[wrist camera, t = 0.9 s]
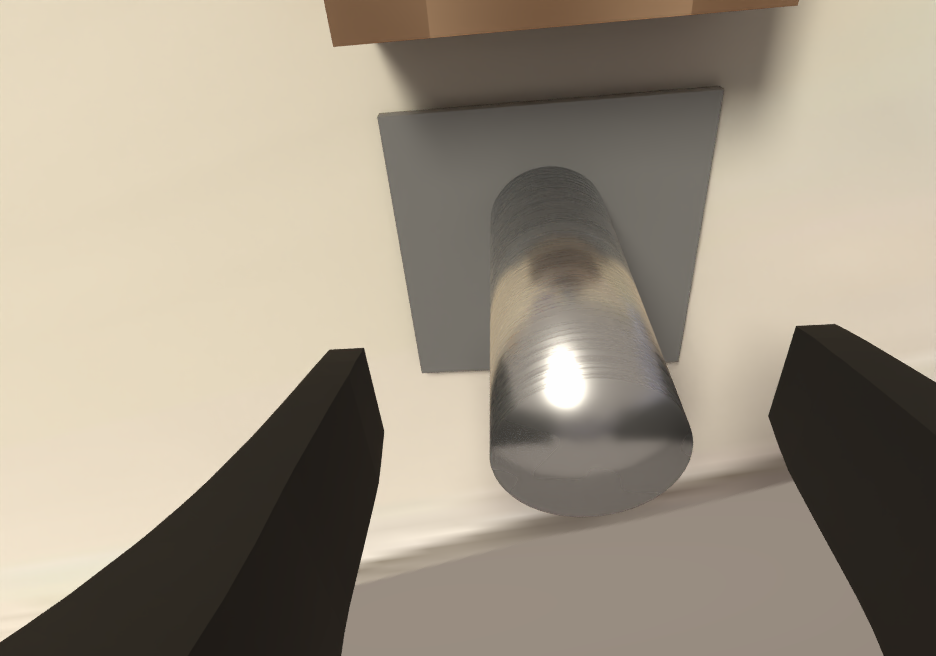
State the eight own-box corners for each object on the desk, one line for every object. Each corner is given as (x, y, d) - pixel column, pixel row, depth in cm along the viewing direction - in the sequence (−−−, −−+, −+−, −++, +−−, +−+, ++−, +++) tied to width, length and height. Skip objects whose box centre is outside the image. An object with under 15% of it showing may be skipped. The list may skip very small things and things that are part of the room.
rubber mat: (719, 86, 13) (723, 89, 13) (675, 355, 18) (678, 361, 18) (379, 113, 14) (377, 117, 14) (422, 366, 19) (421, 373, 18)
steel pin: (608, 161, 14) (707, 375, 8) (602, 267, 16) (678, 515, 9) (486, 170, 14) (482, 385, 8) (493, 274, 16) (494, 519, 10)
